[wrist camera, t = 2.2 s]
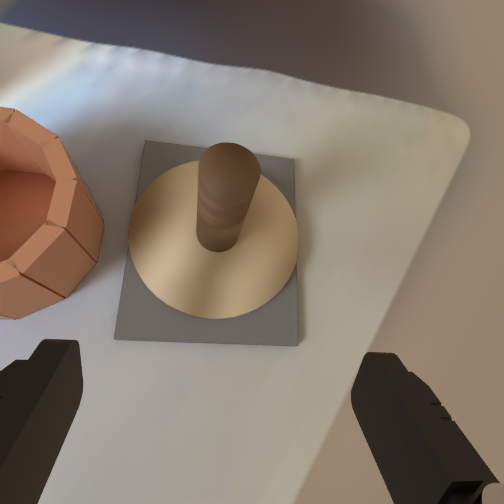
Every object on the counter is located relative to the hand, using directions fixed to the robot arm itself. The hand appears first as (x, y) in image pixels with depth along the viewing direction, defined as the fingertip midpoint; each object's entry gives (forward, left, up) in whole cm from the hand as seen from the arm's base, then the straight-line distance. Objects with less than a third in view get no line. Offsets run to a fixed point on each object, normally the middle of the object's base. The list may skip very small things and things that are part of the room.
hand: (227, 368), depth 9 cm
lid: (0, +9, -12) cm, 15 cm away
